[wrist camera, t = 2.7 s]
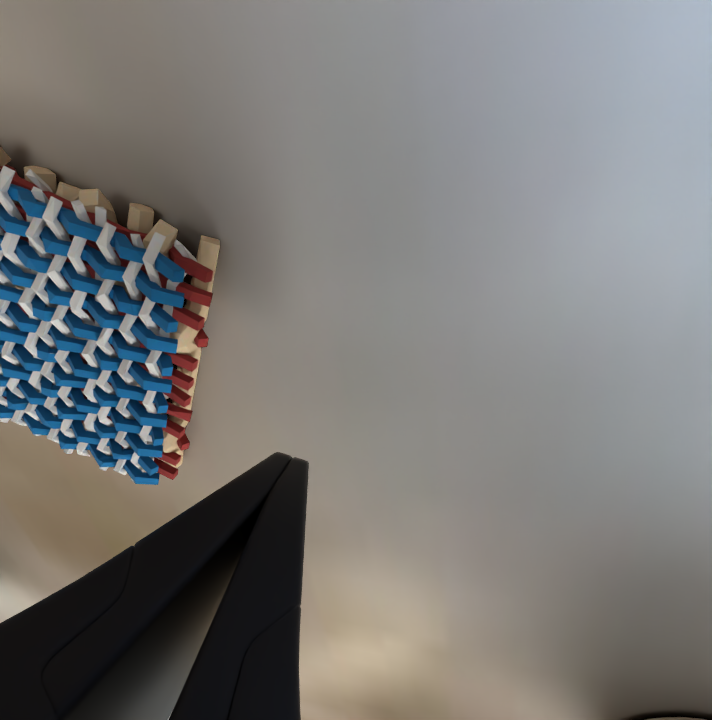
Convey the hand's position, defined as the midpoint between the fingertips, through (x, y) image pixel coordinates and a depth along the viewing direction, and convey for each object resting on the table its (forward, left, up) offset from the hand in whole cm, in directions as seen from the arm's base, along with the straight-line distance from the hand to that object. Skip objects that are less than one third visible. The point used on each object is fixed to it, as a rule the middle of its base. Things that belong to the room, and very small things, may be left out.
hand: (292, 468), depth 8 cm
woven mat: (0, +10, -4) cm, 10 cm away
